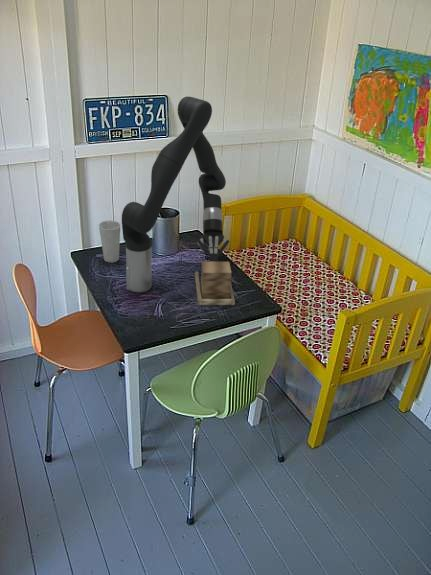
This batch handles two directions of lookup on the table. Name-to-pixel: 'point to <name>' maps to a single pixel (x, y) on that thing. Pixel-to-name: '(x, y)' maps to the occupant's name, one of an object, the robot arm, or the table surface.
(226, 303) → the tray
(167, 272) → the table surface
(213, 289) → the brown wooden block
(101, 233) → the cup
